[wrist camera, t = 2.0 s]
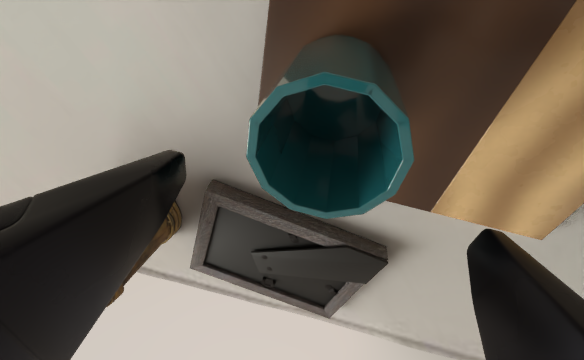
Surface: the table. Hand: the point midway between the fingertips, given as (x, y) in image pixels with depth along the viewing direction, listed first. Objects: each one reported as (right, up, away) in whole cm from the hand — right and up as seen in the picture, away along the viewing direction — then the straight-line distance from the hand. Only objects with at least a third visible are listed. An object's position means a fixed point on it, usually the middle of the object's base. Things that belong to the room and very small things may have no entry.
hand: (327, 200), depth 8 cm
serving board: (+9, +5, +11) cm, 15 cm away
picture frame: (-2, -7, +23) cm, 24 cm away
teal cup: (+2, +6, +10) cm, 12 cm away
